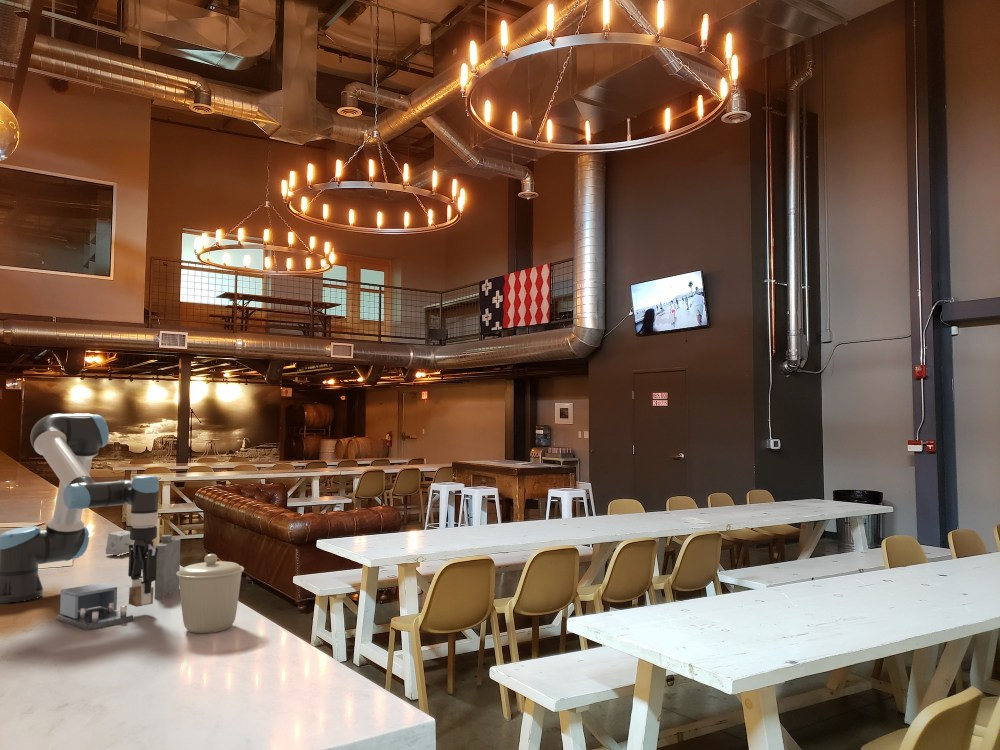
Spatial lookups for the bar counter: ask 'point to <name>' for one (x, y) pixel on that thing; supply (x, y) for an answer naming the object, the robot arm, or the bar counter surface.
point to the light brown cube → (137, 596)
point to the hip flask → (167, 566)
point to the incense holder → (118, 542)
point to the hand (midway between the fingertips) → (141, 602)
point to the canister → (209, 594)
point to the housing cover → (87, 598)
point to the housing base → (101, 618)
